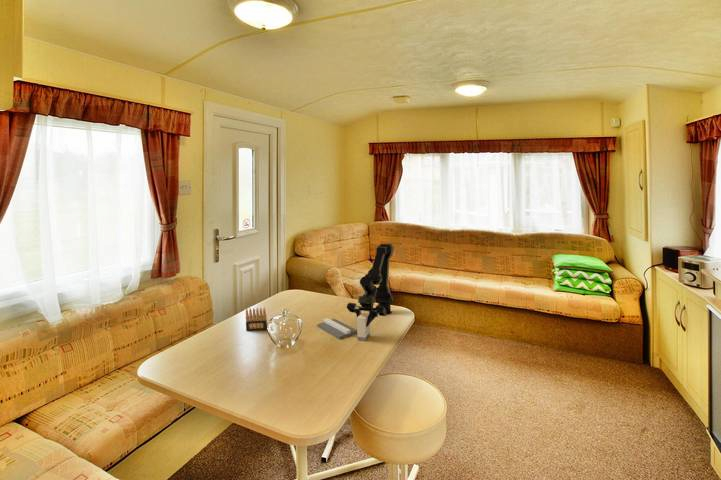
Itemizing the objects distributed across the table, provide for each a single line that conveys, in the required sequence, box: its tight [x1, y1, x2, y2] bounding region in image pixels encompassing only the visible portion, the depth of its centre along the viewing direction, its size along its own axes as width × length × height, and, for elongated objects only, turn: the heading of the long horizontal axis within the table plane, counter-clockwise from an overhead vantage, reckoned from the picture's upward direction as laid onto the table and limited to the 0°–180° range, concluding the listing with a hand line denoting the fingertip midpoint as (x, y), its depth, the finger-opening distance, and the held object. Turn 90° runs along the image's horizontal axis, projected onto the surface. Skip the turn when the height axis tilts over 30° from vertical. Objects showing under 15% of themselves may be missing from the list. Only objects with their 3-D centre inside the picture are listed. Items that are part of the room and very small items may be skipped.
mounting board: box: [316, 317, 357, 340], centre depth 174 cm, size 20×11×3 cm, turn 39°
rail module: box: [356, 312, 371, 342], centre depth 162 cm, size 6×4×12 cm, turn 159°
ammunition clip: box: [245, 307, 268, 332], centre depth 175 cm, size 11×2×12 cm, turn 93°
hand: (362, 325), depth 161 cm, fingers closed on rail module, 4 cm apart
